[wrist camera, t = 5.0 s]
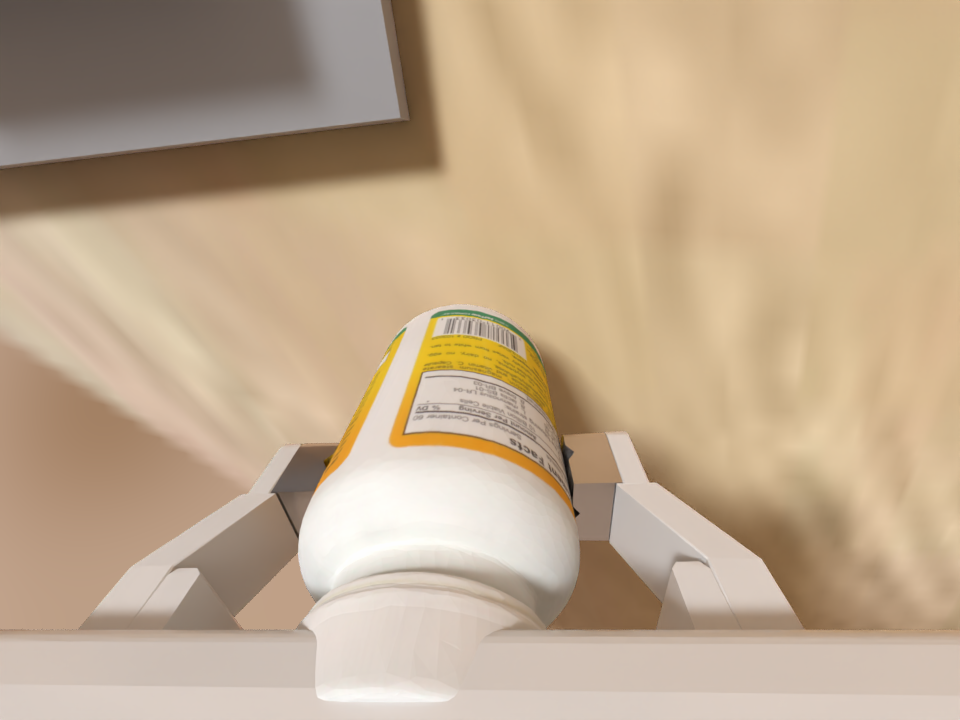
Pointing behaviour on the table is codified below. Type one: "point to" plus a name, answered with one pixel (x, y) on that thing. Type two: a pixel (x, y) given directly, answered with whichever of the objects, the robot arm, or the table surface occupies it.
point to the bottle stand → (189, 73)
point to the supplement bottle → (438, 513)
